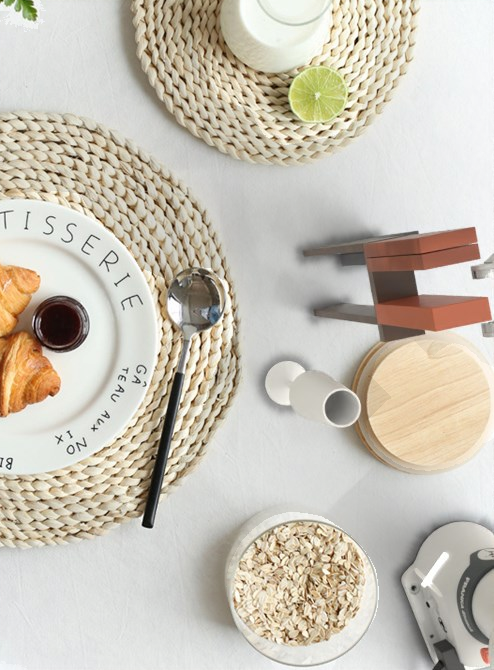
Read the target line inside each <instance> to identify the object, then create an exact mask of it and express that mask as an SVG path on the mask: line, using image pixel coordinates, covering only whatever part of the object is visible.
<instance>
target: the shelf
mask: <svg viewBox="0 0 494 670" xmlns="http://www.w3.org/2000/svg"><path fill="white" fill-rule="evenodd" d="M478 241H479V240H478V235H477V230H476V226H470V227H469V226H468V227H460V228H453V229H445V230H438V231H431V232H430V231H429V232H422V233H419V234H414V235H402V236H397V237H391V238H386V239H381V240H376V241H371V242H366V243H363V249H364V254H365V260H366V265H365V266H366V270H367V276H368V280H369V282H368V283H369V288H370V291H371V297H372V302H373V306H374V309H375V304H377V303H382V302H387V301H392V300H397V299H402V298H407V297H412V296H417V295H419V291H418V285H417V284H418V283H417V280H416V274H415V272H416V271H427V270H433V269H437V268H438V269H439V268H443V267H448V266H453V265H459V264H463V263H468V262H473V261H478V260H481V258H482V257H481V252H480V247H479V243H478ZM375 314H376V309H375ZM376 319H377V314H376ZM376 326H377V329H378V335H379V340H380V342H381V343H389V342H395V341H401V340H404V339H405V340H406V339H409V338H414V337H418V336H425V335H426V330H420V329H413V328H406V327H399V326H391V325H384V324H378V320H377V325H376Z"/></svg>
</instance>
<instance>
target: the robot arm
mask: <svg viewBox="0 0 494 670" xmlns="http://www.w3.org/2000/svg"><path fill="white" fill-rule="evenodd" d="M470 273H471V278H472V280H483V279H487V278H493V277H494V253H492V254H491V255H490V256H489V257H488V258H487V259H485V261H484V263H479V264H475V265H471V266H470ZM480 327H481V333H482V337H483V338H494V320H491V321H487V322H481V323H480ZM400 581H401V585H402V587H403V590H404V593H405V594H406V597H407V599H408V603H409V605H410V607H411V610H412V612H413V615H414V617H415V620H416V622H417V625H418V627H419V630H420V633H421V635H422V638H423V640H424V643H425V645H426V647H427V650H428V653H429V655H430V658H431V660H432V662H433V663H434V666H433V668H431V670H480V669H484V668H488V667H490V670H494V533H493V532H492V531H491V530H489V529H488V528H486V527H485V526H483V525H481V524H479V523H476V522H472V521H453V522H450V523H447V524H444V525H442V526H439V527H438V528H437V529H435V530H434V531H433V532H432V533H431V534H429V535H428V537H427V538H425V540H424V542H423V543H422V544H421V546H420V548H419V549H418V552H417V555H416V557H415V560H414V561H413V562H412V564H411V565H409V566H408V568H407V569H406V570H405V571H404V572H403V574H402V576H401V580H400ZM413 586H414V588H412V587H413Z"/></svg>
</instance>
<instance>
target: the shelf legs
mask: <svg viewBox="0 0 494 670" xmlns="http://www.w3.org/2000/svg"><path fill="white" fill-rule="evenodd" d="M394 237H397V236H394ZM386 238H391V237H386ZM386 238H379V239H371V240H363V241H356V242H350V241H347V242H348V243H345V242H340V243H333V244H328V245H323V246H317V247H314V248H308V249H304V250H302V255H303V258H308V257H318V256H329V255H340V254H341V253H352V252H362V251H364V249H363V243H366V242H371V241H376V240H381V239H386ZM313 313H314V317H317V318H323V319H324V318H325V319H331V320H339V321H346V322H354V323H358V324H359V323H361V324H367V325H375V326H378V325H377V319H376V314H375V309H374V305H371V304H359V303H346V302H345V303H339V304H335V305H330V306H325V307H320V308H315V309H313Z"/></svg>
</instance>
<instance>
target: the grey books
mask: <svg viewBox="0 0 494 670" xmlns="http://www.w3.org/2000/svg"><path fill="white" fill-rule="evenodd" d="M414 234H420V232H419V230H412V231H406V232H398V233H390V234H384V235H376V236H371V237H366V238H361V239H356V240H350V241H346V242H344V243H348V242H356V241H363V240H371V239H379V238H386V237H394V236H402V235H414ZM339 255H340V262H341V266H342V267H353V266H354V267H355V266H367V265H366V260H365V254H364V251H362V252H352V253H341V254H339Z"/></svg>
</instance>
